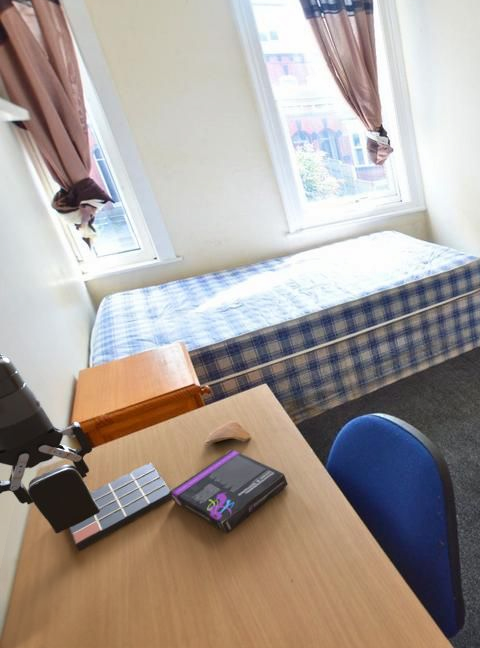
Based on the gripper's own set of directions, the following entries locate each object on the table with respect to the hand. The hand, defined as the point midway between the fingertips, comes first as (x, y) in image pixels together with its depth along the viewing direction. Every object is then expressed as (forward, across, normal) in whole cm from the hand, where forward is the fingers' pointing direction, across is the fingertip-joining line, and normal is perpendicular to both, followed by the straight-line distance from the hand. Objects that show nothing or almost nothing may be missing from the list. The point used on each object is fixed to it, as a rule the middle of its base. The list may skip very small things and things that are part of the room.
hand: (57, 488), depth 86 cm
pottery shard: (+13, -30, -10) cm, 34 cm away
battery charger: (+8, 0, 0) cm, 8 cm away
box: (+13, -22, +12) cm, 28 cm away
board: (+13, -6, -6) cm, 16 cm away
